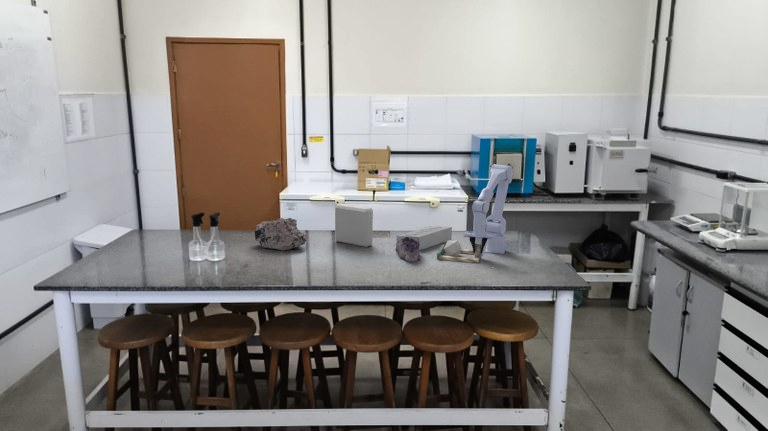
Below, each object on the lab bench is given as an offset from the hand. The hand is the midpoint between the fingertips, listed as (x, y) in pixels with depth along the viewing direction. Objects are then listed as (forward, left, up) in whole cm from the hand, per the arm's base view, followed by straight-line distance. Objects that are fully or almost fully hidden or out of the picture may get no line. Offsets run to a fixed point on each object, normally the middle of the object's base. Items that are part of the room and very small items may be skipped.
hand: (477, 252), depth 272 cm
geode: (+32, +7, -3) cm, 33 cm away
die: (+12, 0, -3) cm, 13 cm away
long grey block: (+30, -21, -3) cm, 37 cm away
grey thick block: (+65, -8, -3) cm, 66 cm away
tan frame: (+9, 0, -3) cm, 9 cm away
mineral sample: (+99, +9, -3) cm, 100 cm away
